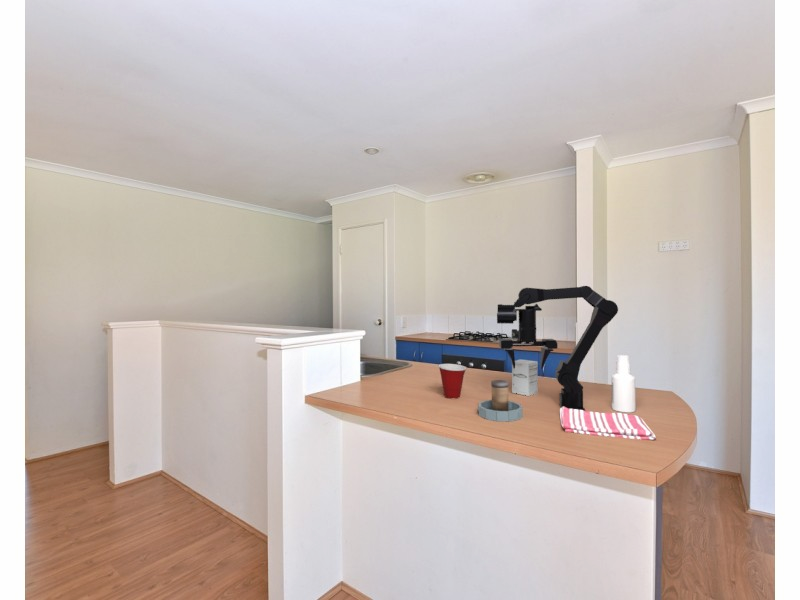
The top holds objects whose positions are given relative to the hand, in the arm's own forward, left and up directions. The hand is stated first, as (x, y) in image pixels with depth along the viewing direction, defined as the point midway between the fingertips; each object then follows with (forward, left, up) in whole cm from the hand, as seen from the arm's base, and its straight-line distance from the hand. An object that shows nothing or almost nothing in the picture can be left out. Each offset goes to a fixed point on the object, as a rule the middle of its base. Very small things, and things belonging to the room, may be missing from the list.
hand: (527, 368), depth 136 cm
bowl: (+11, +11, -13) cm, 20 cm away
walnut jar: (+11, +11, -12) cm, 20 cm away
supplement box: (-2, -17, -13) cm, 22 cm away
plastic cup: (+26, -10, -13) cm, 31 cm away
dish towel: (-18, +20, -14) cm, 30 cm away
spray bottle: (-30, +3, -13) cm, 33 cm away
